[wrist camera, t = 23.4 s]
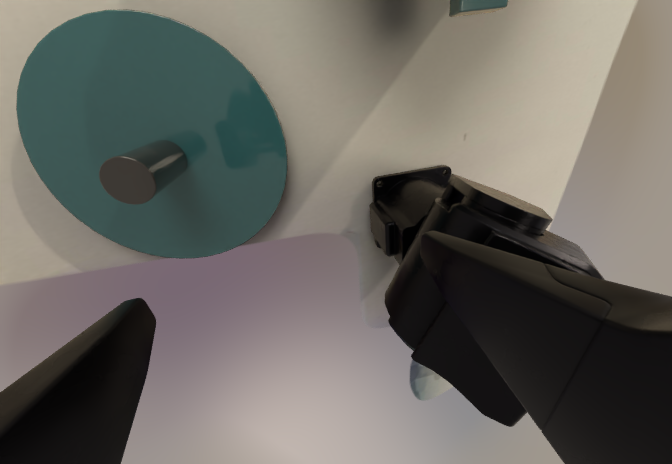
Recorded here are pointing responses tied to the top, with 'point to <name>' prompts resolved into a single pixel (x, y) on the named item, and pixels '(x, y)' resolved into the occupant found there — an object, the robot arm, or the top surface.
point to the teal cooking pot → (475, 6)
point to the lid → (152, 134)
